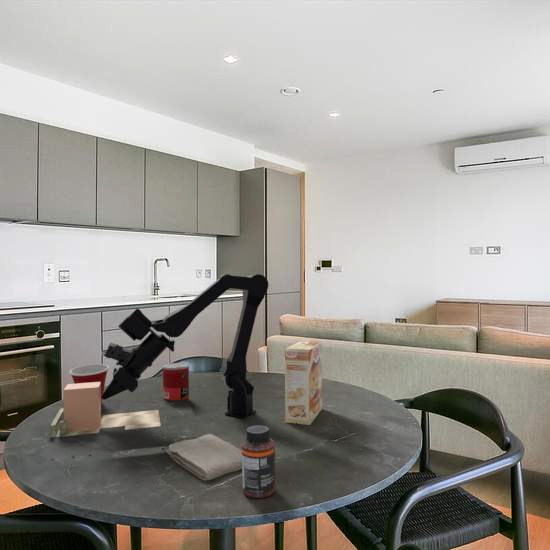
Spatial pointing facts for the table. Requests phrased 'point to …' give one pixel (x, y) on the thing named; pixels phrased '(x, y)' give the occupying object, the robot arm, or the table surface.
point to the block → (82, 405)
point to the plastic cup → (90, 374)
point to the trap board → (108, 422)
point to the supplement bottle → (258, 463)
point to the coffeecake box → (303, 382)
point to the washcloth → (206, 456)
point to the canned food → (176, 381)
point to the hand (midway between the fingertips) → (102, 398)
